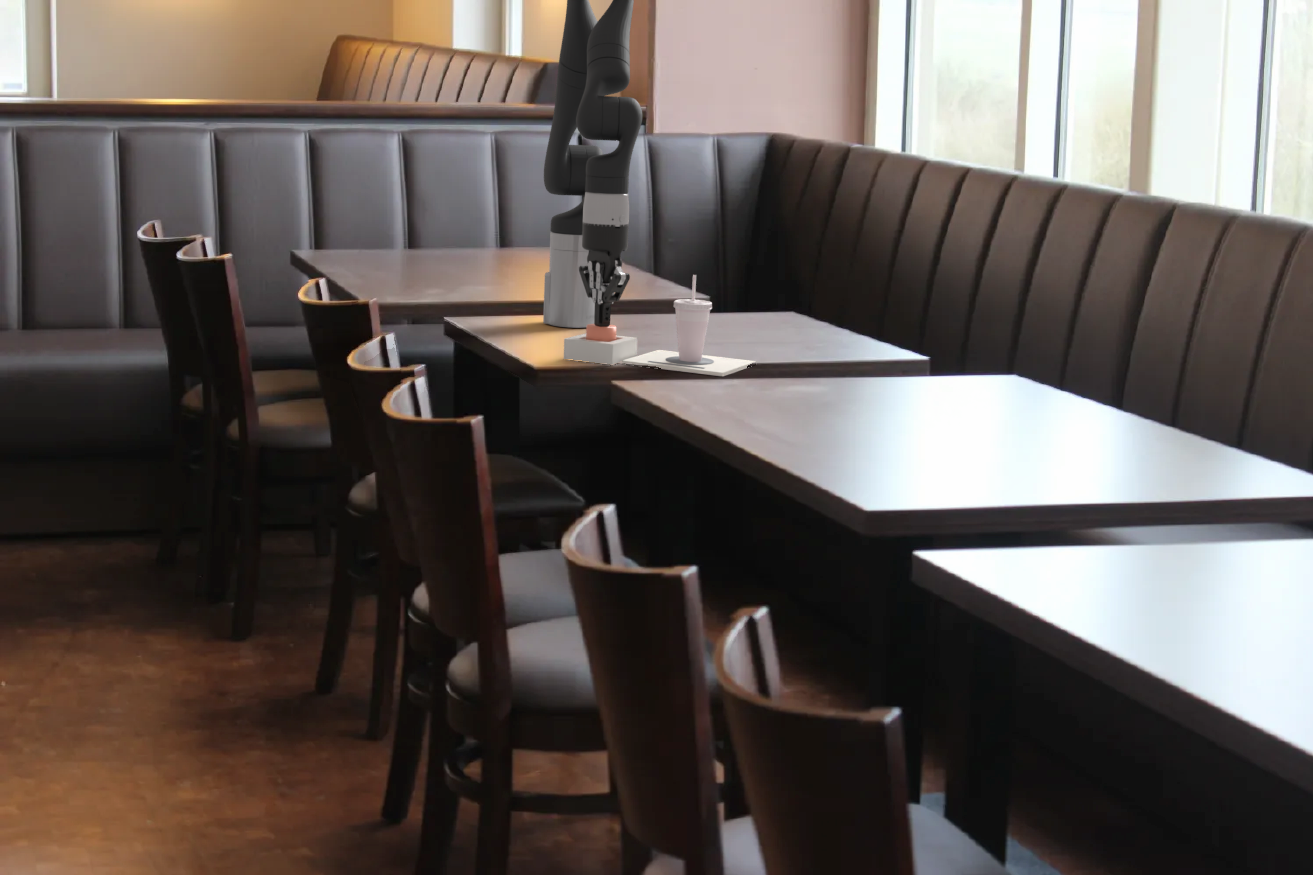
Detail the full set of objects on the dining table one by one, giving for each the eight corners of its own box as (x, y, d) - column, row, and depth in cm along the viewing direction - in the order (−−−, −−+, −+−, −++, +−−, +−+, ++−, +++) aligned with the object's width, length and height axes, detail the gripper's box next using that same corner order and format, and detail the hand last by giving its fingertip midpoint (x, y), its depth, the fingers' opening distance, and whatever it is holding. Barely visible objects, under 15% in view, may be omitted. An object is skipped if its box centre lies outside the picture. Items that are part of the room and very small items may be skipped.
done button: (580, 347, 281) (581, 326, 281) (594, 343, 286) (595, 322, 285) (607, 350, 279) (608, 329, 279) (621, 346, 284) (621, 325, 283)
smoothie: (710, 358, 285) (715, 274, 282) (708, 364, 279) (712, 278, 276) (672, 355, 285) (676, 272, 282) (669, 361, 279) (673, 276, 276)
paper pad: (621, 364, 279) (622, 359, 279) (658, 353, 292) (658, 349, 292) (722, 376, 272) (722, 372, 272) (756, 364, 284) (756, 360, 284)
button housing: (563, 359, 281) (564, 338, 280) (589, 352, 289) (589, 332, 288) (612, 365, 277) (613, 344, 277) (636, 358, 285) (637, 337, 284)
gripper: (565, 217, 282) (562, 321, 285) (606, 224, 271) (603, 332, 274) (604, 217, 286) (601, 320, 289) (646, 224, 275) (642, 330, 278)
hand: (602, 326), depth 282 cm, fingers closed
